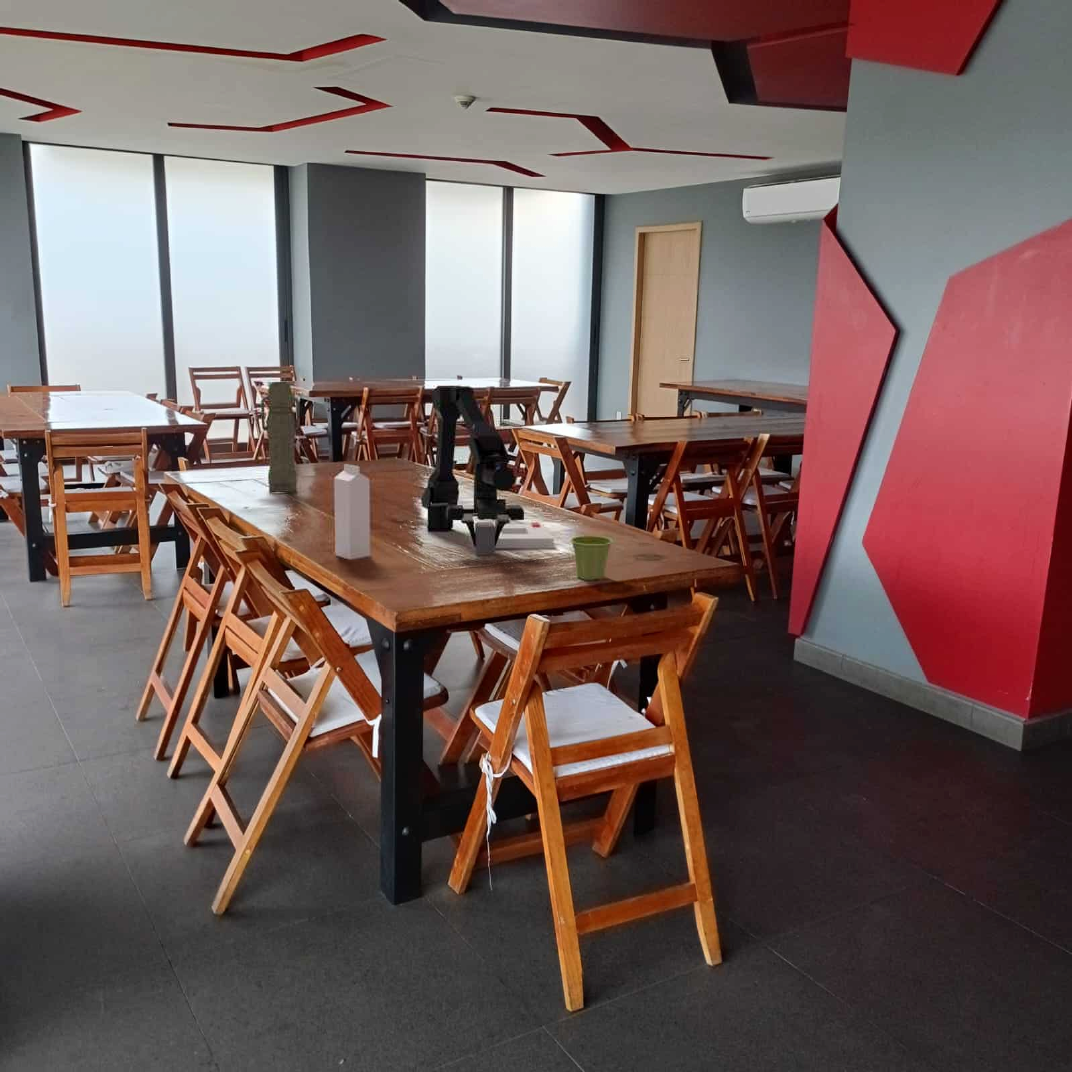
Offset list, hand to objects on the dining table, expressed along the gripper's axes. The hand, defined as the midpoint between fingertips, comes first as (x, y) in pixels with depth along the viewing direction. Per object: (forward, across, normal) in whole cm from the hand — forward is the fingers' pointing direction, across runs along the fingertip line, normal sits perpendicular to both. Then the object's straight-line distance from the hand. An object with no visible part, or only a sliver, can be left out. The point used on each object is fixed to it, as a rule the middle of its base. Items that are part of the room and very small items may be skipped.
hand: (484, 546), depth 244 cm
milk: (+2, -32, -2) cm, 32 cm away
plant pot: (+2, +22, -24) cm, 33 cm away
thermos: (+2, -58, +88) cm, 105 cm away
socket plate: (+2, +9, +14) cm, 17 cm away
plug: (+2, 0, 0) cm, 2 cm away
